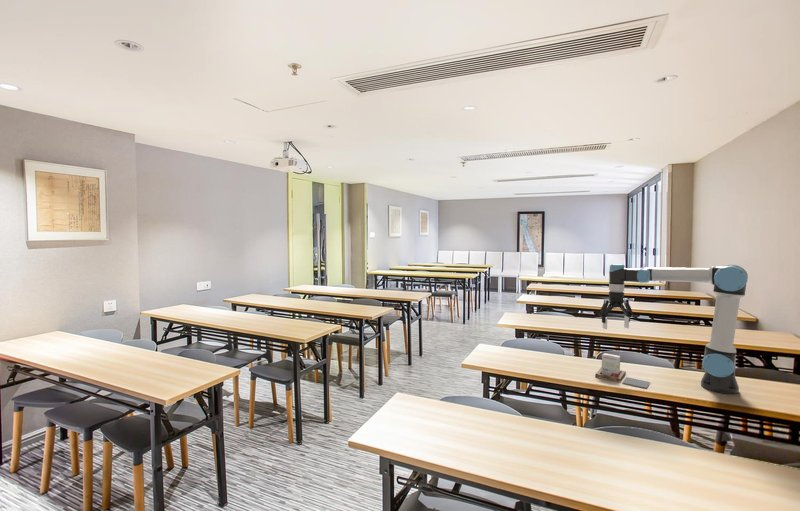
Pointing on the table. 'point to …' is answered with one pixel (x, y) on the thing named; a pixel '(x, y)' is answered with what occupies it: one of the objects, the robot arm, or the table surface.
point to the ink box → (610, 365)
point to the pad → (636, 382)
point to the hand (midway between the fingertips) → (615, 328)
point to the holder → (618, 379)
